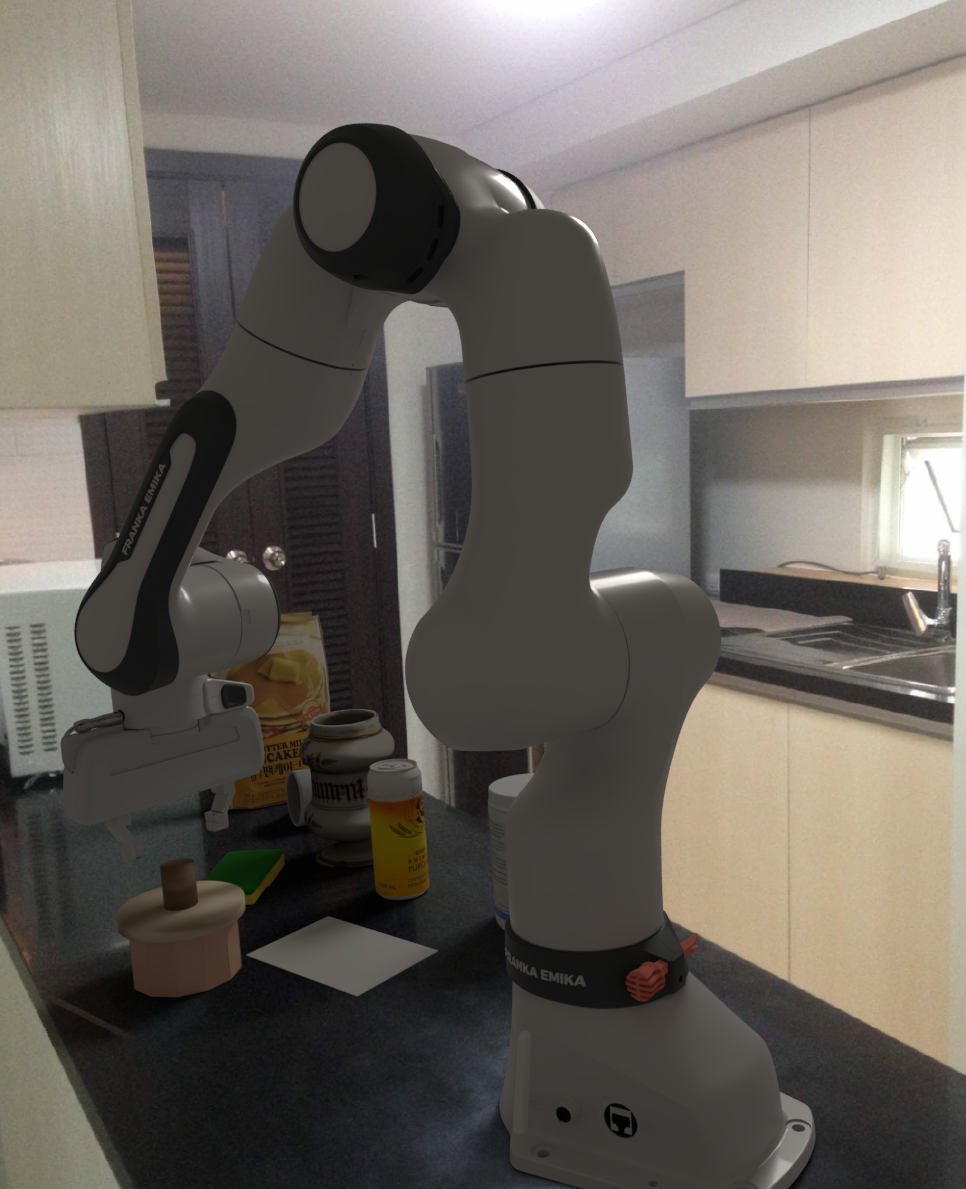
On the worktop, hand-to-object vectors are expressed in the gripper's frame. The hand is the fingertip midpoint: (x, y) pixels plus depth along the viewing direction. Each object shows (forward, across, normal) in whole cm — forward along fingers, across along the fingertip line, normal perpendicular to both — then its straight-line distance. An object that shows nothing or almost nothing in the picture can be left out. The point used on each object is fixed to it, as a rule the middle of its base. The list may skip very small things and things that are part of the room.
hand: (177, 843), depth 104 cm
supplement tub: (+14, +28, -21) cm, 38 cm away
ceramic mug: (+13, +40, +27) cm, 50 cm away
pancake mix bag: (+13, +44, +40) cm, 61 cm away
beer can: (+14, +26, -3) cm, 30 cm away
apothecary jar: (+13, +32, +11) cm, 36 cm away
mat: (+14, +11, -9) cm, 20 cm away
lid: (+7, 0, +1) cm, 7 cm away
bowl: (+13, 0, +1) cm, 13 cm away
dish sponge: (+14, +18, +16) cm, 28 cm away
